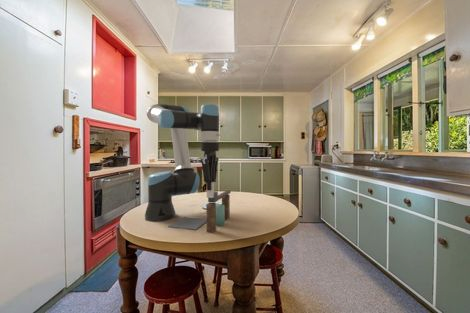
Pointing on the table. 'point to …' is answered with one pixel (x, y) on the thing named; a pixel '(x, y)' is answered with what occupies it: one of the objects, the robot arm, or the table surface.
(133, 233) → the table surface
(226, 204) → the frame
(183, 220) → the pad
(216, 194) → the dark grey bar
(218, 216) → the plug
